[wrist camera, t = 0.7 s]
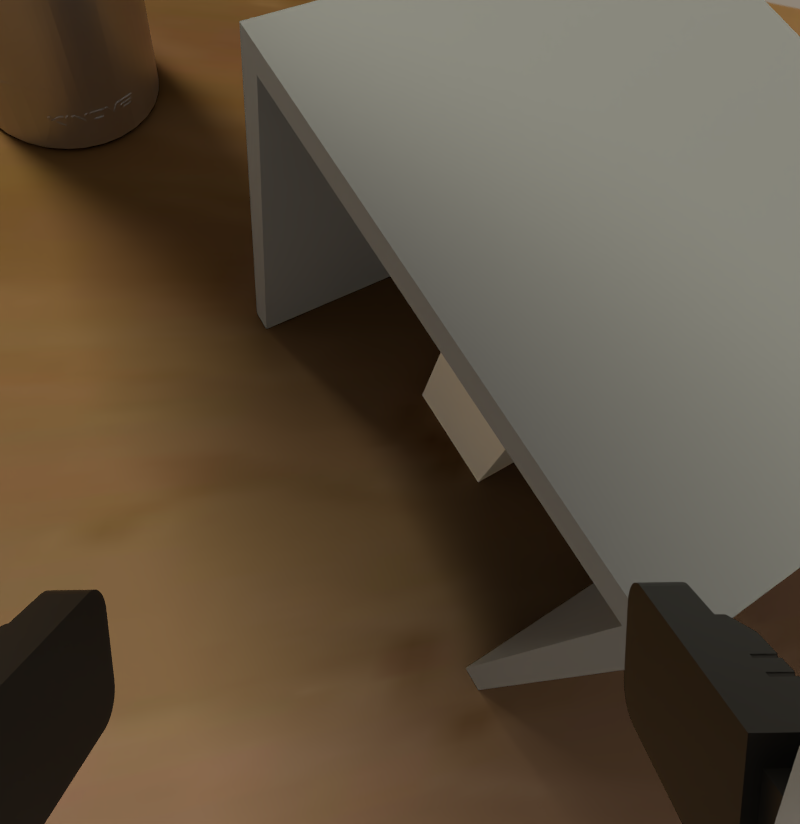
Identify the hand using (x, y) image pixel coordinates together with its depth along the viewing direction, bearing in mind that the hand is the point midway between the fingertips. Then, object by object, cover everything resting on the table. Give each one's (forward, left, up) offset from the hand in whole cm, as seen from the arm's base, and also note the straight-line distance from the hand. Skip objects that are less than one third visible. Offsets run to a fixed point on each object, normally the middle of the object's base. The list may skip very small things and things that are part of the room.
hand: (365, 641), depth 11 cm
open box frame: (-6, +14, -19) cm, 25 cm away
